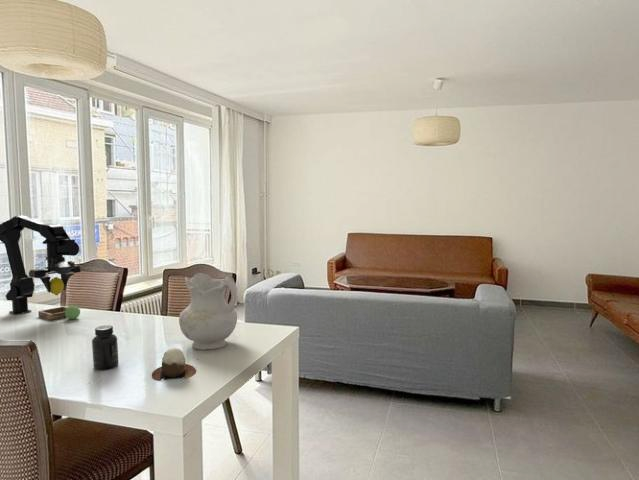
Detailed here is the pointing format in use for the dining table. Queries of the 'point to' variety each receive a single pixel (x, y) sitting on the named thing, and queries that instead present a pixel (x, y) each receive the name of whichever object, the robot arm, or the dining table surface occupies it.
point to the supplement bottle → (104, 348)
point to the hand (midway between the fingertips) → (56, 291)
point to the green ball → (72, 312)
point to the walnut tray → (53, 313)
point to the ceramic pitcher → (209, 312)
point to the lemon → (56, 286)
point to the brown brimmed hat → (173, 366)
